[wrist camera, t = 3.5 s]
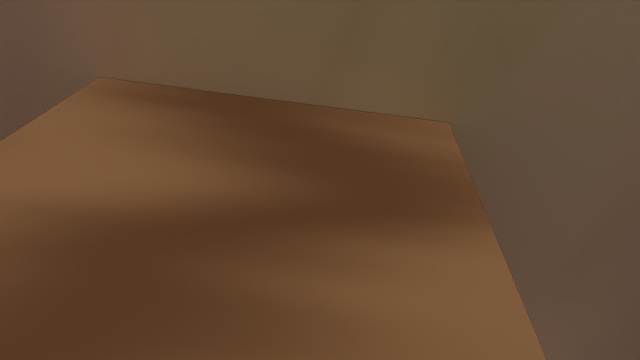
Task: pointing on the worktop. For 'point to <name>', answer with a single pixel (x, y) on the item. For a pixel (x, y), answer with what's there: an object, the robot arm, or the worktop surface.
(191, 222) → the terracotta cube
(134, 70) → the worktop surface
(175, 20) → the worktop surface
